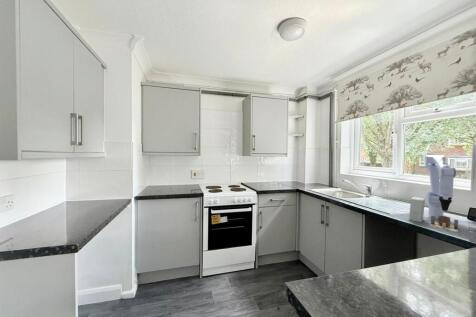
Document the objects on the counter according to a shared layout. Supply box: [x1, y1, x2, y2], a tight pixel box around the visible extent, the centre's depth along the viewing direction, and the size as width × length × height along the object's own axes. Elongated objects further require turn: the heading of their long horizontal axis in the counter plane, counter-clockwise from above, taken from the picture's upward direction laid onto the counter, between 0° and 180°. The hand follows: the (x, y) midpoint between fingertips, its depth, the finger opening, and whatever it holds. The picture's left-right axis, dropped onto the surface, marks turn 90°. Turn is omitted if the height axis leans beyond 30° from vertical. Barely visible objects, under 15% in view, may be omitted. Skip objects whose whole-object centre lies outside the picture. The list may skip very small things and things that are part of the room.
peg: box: [438, 223, 449, 231], centre depth 116 cm, size 4×4×3 cm
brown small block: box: [437, 215, 451, 226], centre depth 123 cm, size 5×5×4 cm
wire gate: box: [430, 216, 459, 230], centre depth 120 cm, size 3×11×5 cm, turn 44°
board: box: [430, 220, 459, 233], centre depth 120 cm, size 15×11×1 cm
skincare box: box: [408, 196, 426, 223], centre depth 131 cm, size 8×6×15 cm
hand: (444, 209), depth 123 cm, fingers open, 7 cm apart
